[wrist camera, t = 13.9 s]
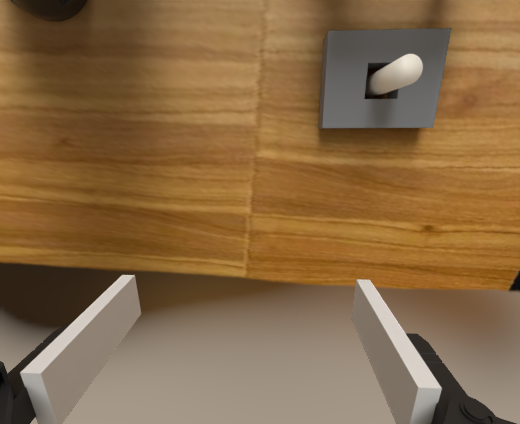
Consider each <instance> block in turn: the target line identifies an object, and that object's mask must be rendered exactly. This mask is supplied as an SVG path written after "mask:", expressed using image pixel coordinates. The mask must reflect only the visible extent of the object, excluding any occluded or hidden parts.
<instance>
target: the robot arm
mask: <svg viewBox="0 0 520 424" xmlns="http://www.w3.org/2000/svg"><path fill="white" fill-rule="evenodd" d="M11 1H12V2H13V3H14V4H16V5H17V6H18V7H20V8H21V9H23V10H25V11H27V12H29V13H31V14H33V15H35V16H37V17H39V18H41V19H44V20H49V21H61V20H66V19H68V18H70V17H72V16H74V15H75V14H76V13H78V12H79V11H80V9H81V8H82V7H83V5H84V4H85V2H86V0H11ZM140 315H141V310H140V304H139V298H138V292H137V286H136V280H135V275H122V276H121V277H120V278H119V279H118V280H117V281H116V282H114V283H113V284H112V285H111V287H109V288H108V289H107V290H106V291H105V292H104V293H103V294H102V295H101V296H100V297H99V298H98V299H97V300H96V301H95V302H94V303H92V304H91V305H90V306H89V307H88V308H87V309H86V310H85V311H84V312H83V313H82V314H81V315H80V316H79V317H78V318H77V319H76V320H75V321H74V322H73V323H72V324H70V325H64V326H63V327H61V328H59V329H58V330H56V331H54V332H53V333H52V334H51V335H50V336H48V337H47V338H46V339H45V340H44V341H43V343H41V344H40V345H39V346H38V347H36V349H35V350H34V351H32V352H31V353H30V354H29V355H28V356H27V357H26V358H24V359H23V360H22V361H21V362H20V363H19V364H18V365H17V366H16V367H15V368H13V369H12V370H11V371H10V372H9V373H8V374H7V371H6V369H5V366H4V363H3V362H1V361H0V424H30V423H31V421H32V420H33V419H34V418H35V417H36V419H37V422H38V424H62V423H63V421H64V420H65V419H66V417H67V416H68V415H69V413H70V412H71V411H72V409H73V408H74V406H75V405H76V404H77V402H78V401H79V399H80V398H81V396H82V395H83V394H84V392H85V391H86V390H87V388H88V387H89V385H90V384H91V382H92V381H93V380H94V378H95V377H96V376H97V374H98V373H99V372H100V370H101V369H102V367H103V366H104V365H105V363H106V362H107V361H108V359H109V358H110V356H111V355H112V354H113V352H114V351H115V349H116V348H117V347H118V345H119V344H120V342H121V341H122V340H123V338H124V337H125V336H126V334H127V333H128V331H129V330H130V328H131V327H132V326H133V324H134V323H135V322H136V320H137V319H138V317H139V316H140ZM352 321H353V324H354V326H355V328H356V331H357V333H358V335H359V338H360V340H361V342H362V344H363V347H364V349H365V352H366V354H367V356H368V359H369V361H370V363H371V366H372V368H373V371H374V373H375V375H376V377H377V380H378V382H379V385H380V387H381V389H382V391H383V394H384V396H385V398H386V401H387V403H388V406H389V408H390V410H391V413H392V415H393V417H394V420H395V422H396V424H516V423H513V422H510V421H506V420H503V419H500V418H498V417H496V416H495V415H494V414H493V412H492V411H490V410H489V409H488V408H487V407H486V406H485V405H484V404H482V403H480V402H479V401H477V400H476V399H473V398H471V397H469V396H468V395H467V394H466V393H465V391H464V390H463V389H462V387H461V386H460V385H459V383H458V382H457V381H456V379H455V378H454V377H453V375H452V374H451V373H450V371H449V370H448V369H447V367H446V366H445V365H444V363H442V360H441V359H440V358H439V356H438V355H436V352H435V351H434V350H433V348H432V347H431V346H430V344H429V343H428V342H427V341H426V340H424V339H423V338H422V337H421V336H419V335H418V334H406V333H405V332H404V331H403V329H402V328H401V326H400V325H399V323H398V322H397V320H396V319H395V317H394V316H393V314H392V313H391V311H390V309H389V308H388V307H387V305H386V303H385V302H384V301H383V299H382V298H381V296H380V294H379V293H378V291H377V290H376V288H375V287H374V285H373V284H372V282H371V281H370V280H356V287H355V296H354V304H353V312H352Z"/></svg>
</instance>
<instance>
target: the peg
mask: <svg viewBox="0 0 520 424" xmlns="http://www.w3.org/2000/svg"><path fill="white" fill-rule="evenodd" d="M422 70H423V64H422V61H421V59H420V58H419V57H418V56H417V55H415V54H407V55H404V56H402V57H401V58H399V59H397V60H395V61H394V62H392V63H390V64H389V65H387V66H385V67H383V68H382V69H380V70H378V71H377V72H375V73H373V74H371V75H370V76H368V77H367V79H366V89H365V95H367V96H369V97H375V96H378V95H381V94H384V93H387V92H390V91H393V90H396V89H399V88H402V87H404V86H407V85H410V84H413V83H414V82H416V81H417V80H418V79H419V77H420V76H421V74H422Z"/></svg>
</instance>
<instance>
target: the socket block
mask: <svg viewBox="0 0 520 424" xmlns="http://www.w3.org/2000/svg"><path fill="white" fill-rule="evenodd" d="M450 33H451V28H435V29H387V30H340V31H328V33H327V35H326V36H325V38H324V41H323V58H322V75H321V92H320V109H319V126H318V128H433V126H434V120H435V115H436V109H437V104H438V98H439V93H440V87H441V82H442V76H443V71H444V65H445V60H446V55H447V49H448V44H449V38H450ZM407 54H415V55H417V56H418V57H419V58H420V59H421V61H422V64H423V70H422V74H421V76H420V77H419V79H418V80H417V81H416V82H414V83H413V84H410V85H407V86H404V87H402V88H399V89H396V90H393V91H390V92H388V96H387V99H364V98H365V89H366V79H367V70H368V69H382V68H383V67H385V66H387V65H389V64H390V63H392V62H394V61H395V60H397V59H399V58H401V57H402V56H404V55H407Z"/></svg>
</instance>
